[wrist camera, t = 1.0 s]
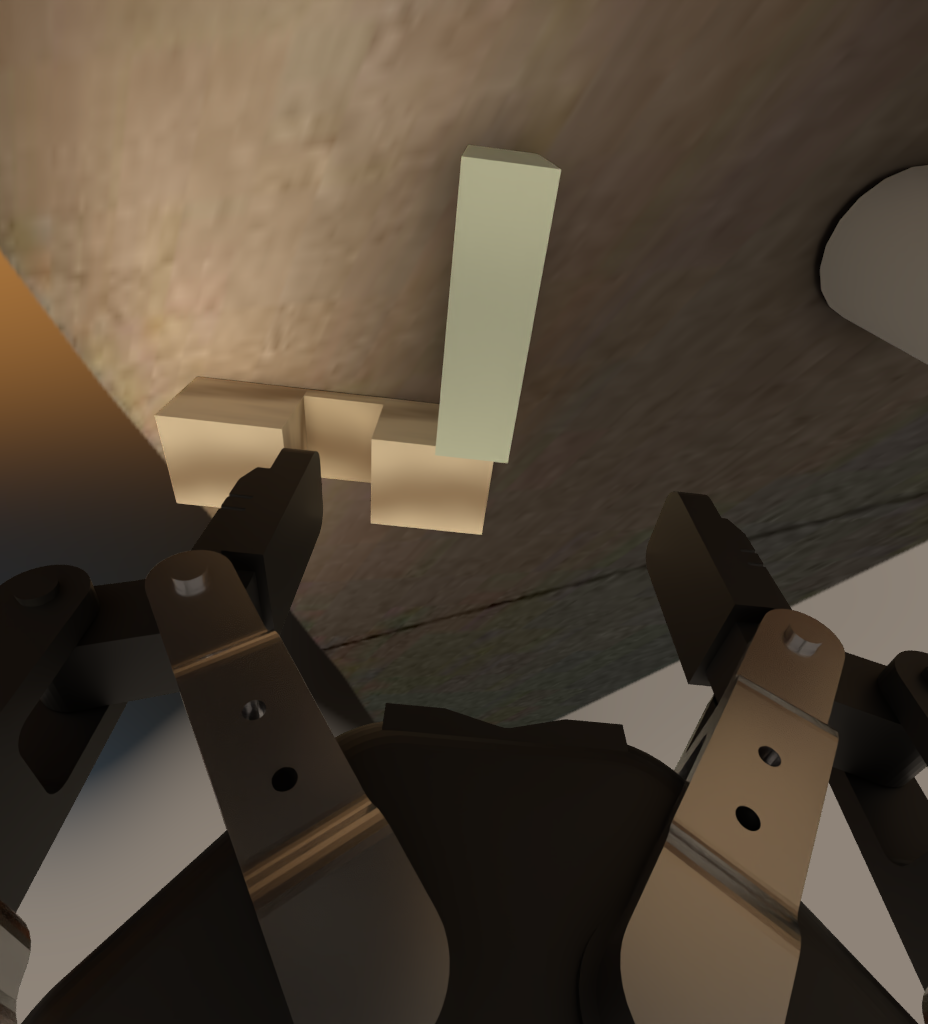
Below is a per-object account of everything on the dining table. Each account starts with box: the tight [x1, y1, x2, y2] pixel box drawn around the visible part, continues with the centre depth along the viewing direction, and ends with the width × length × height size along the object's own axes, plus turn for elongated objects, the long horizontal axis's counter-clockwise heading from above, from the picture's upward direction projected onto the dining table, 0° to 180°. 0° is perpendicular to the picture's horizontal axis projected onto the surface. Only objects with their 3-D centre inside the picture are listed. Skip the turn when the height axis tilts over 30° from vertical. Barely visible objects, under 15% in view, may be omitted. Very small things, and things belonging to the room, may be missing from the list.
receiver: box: [155, 377, 493, 535], centre depth 34 cm, size 6×19×6 cm, turn 84°
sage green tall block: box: [435, 145, 561, 463], centre depth 26 cm, size 12×4×10 cm, turn 174°
